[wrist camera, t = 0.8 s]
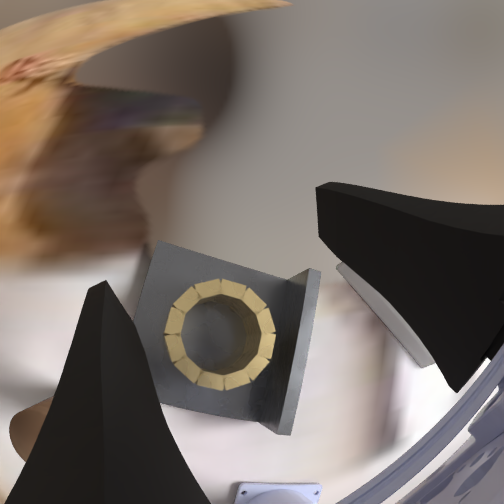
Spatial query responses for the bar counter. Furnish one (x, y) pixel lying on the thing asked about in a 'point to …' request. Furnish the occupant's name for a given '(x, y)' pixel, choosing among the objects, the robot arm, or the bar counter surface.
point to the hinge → (388, 316)
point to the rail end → (28, 427)
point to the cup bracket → (226, 336)
